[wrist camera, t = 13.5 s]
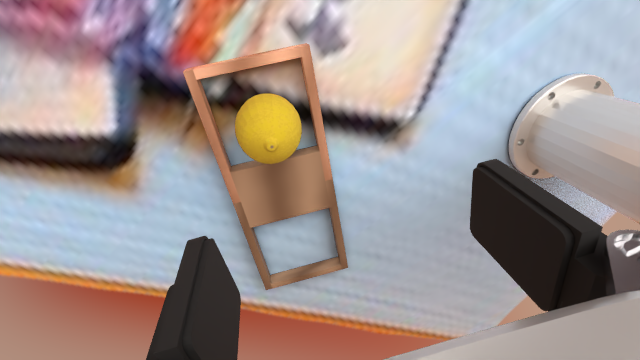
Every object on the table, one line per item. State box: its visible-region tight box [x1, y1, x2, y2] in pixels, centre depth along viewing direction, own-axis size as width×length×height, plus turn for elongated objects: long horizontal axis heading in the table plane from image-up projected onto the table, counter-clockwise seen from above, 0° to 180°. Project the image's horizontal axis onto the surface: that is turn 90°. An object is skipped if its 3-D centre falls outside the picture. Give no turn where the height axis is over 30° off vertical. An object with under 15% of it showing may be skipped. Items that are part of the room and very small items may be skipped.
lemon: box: [235, 94, 302, 164], centre depth 27 cm, size 6×6×8 cm
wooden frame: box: [183, 43, 348, 290], centre depth 34 cm, size 11×27×2 cm, turn 10°
